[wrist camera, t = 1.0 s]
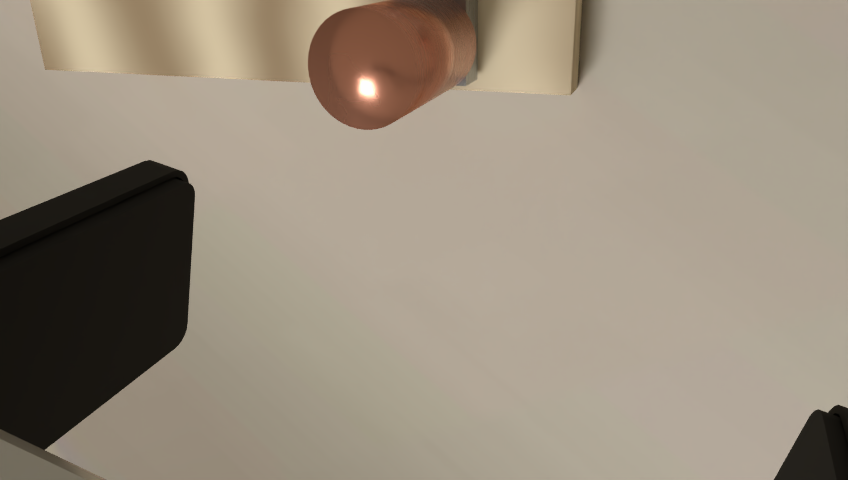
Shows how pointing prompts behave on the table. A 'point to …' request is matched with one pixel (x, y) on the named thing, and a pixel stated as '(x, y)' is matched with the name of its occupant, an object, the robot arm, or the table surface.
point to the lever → (392, 58)
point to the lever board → (290, 39)
